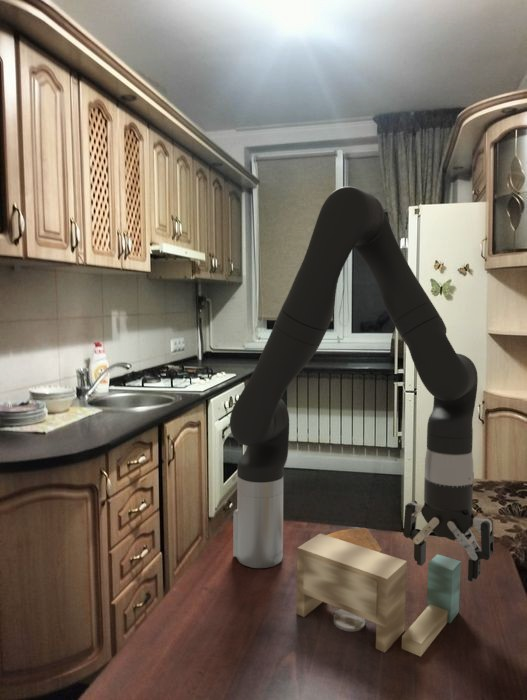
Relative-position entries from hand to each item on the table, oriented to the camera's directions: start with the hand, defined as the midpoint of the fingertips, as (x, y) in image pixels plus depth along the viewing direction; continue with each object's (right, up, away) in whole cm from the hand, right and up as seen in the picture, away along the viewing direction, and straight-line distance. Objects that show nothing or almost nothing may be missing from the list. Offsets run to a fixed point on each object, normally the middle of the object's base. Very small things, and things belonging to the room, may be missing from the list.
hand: (446, 571), depth 91 cm
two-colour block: (-4, -8, -3) cm, 9 cm away
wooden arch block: (-16, -8, -2) cm, 18 cm away
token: (-16, -8, -2) cm, 18 cm away
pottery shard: (-11, -6, +26) cm, 29 cm away
